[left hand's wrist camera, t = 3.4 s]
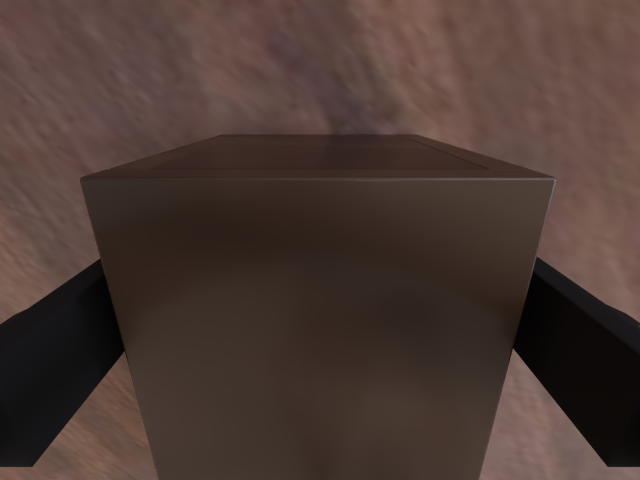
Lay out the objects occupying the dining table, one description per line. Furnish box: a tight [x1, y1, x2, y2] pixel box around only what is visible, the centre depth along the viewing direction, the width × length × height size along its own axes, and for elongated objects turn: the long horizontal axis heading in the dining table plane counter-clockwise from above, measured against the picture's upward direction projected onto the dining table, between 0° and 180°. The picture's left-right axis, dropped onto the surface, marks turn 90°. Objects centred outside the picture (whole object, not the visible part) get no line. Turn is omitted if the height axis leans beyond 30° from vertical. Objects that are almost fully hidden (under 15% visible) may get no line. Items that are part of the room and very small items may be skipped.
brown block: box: [80, 135, 556, 480], centre depth 16 cm, size 21×10×11 cm, turn 0°
